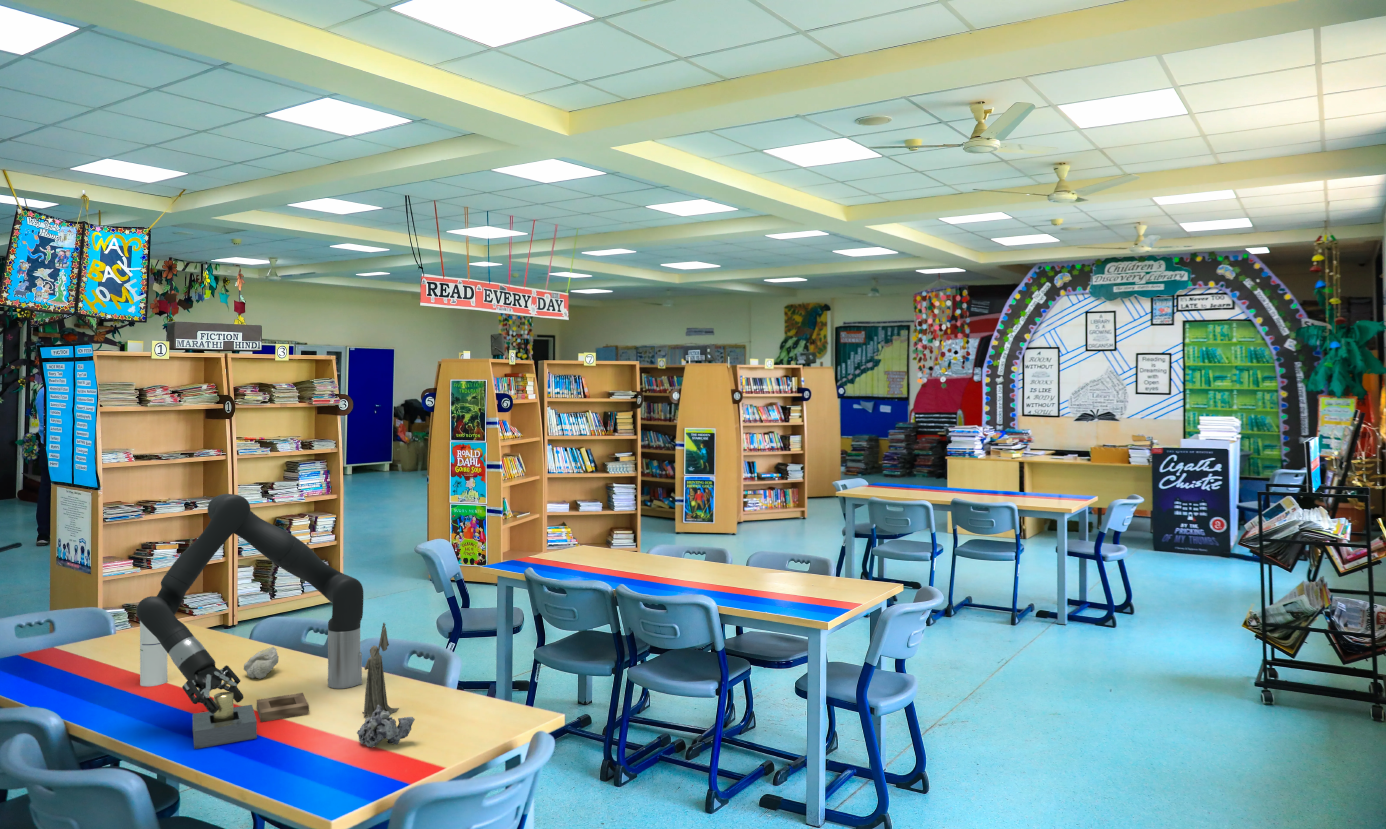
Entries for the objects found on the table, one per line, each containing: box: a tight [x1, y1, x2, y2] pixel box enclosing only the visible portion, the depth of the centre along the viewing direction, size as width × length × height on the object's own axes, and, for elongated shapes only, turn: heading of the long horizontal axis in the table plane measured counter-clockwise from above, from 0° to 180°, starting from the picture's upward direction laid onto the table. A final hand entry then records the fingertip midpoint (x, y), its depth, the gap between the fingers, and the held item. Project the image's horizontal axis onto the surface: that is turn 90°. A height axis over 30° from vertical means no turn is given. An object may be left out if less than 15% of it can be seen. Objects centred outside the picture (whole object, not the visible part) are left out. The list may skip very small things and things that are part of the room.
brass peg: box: [213, 691, 234, 723], centre depth 230 cm, size 4×4×10 cm
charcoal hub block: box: [192, 704, 258, 750], centre depth 230 cm, size 14×14×4 cm
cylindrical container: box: [139, 620, 168, 687], centre depth 270 cm, size 7×7×25 cm
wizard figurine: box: [362, 622, 400, 719], centre depth 247 cm, size 10×8×25 cm
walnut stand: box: [256, 692, 310, 723], centre depth 247 cm, size 12×12×2 cm
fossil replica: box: [243, 646, 279, 680], centre depth 278 cm, size 12×8×10 cm
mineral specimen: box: [356, 705, 416, 748], centre depth 225 cm, size 13×10×11 cm
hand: (228, 705), depth 229 cm, fingers open, 8 cm apart
